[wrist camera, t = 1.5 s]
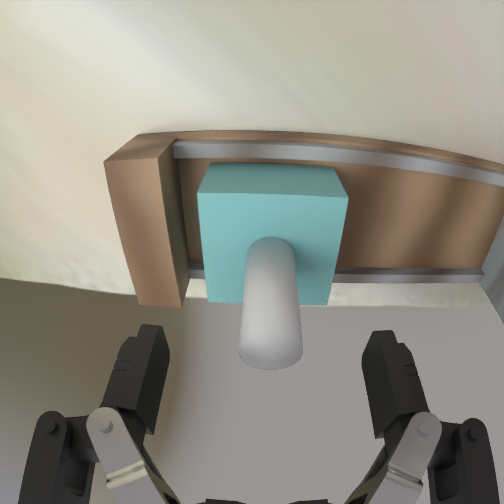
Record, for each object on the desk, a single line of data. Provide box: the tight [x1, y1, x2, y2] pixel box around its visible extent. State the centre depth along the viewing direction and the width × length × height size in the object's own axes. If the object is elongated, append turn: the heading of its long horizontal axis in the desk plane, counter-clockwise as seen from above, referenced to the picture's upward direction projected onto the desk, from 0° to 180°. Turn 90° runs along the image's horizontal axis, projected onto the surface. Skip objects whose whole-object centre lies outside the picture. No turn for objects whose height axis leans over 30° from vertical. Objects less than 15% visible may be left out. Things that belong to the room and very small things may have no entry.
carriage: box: [197, 163, 348, 370], centre depth 15 cm, size 7×7×10 cm
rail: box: [104, 130, 504, 323], centre depth 17 cm, size 32×10×8 cm, turn 90°
